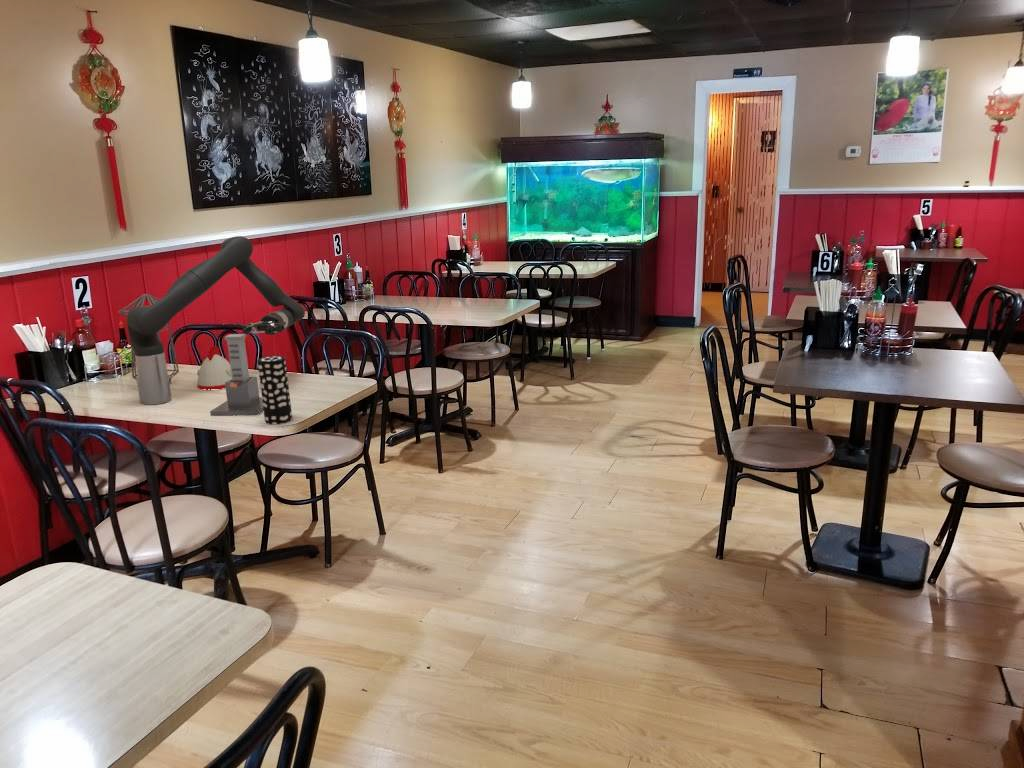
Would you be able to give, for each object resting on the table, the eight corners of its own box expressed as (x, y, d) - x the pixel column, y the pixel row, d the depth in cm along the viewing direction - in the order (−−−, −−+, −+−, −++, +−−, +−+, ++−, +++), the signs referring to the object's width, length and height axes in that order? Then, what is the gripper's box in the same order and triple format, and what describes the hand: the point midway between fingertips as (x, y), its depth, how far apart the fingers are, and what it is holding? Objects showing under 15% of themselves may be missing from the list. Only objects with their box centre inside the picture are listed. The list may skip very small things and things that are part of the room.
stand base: (210, 415, 248) (206, 386, 245) (232, 401, 263) (228, 373, 260) (257, 415, 246) (254, 385, 243) (277, 401, 261) (273, 373, 259)
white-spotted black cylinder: (270, 416, 244) (262, 356, 239) (295, 416, 244) (288, 355, 239) (261, 424, 236) (253, 362, 231) (287, 424, 236) (280, 361, 231)
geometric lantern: (147, 381, 296) (135, 291, 287) (187, 381, 295) (176, 291, 286) (126, 391, 280) (113, 297, 272) (168, 391, 280) (156, 297, 271)
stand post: (233, 405, 252) (224, 337, 246) (239, 401, 256) (230, 334, 250) (248, 405, 251) (239, 336, 245) (254, 401, 256) (245, 334, 250)
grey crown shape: (243, 380, 292) (238, 342, 288) (227, 390, 278) (222, 350, 275) (208, 380, 293) (203, 342, 289) (191, 390, 280) (185, 350, 276)
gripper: (254, 313, 279) (235, 321, 264) (292, 312, 278) (274, 320, 262) (257, 333, 281) (238, 342, 266) (294, 332, 280) (277, 341, 264)
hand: (256, 331), depth 264 cm, fingers open, 8 cm apart
